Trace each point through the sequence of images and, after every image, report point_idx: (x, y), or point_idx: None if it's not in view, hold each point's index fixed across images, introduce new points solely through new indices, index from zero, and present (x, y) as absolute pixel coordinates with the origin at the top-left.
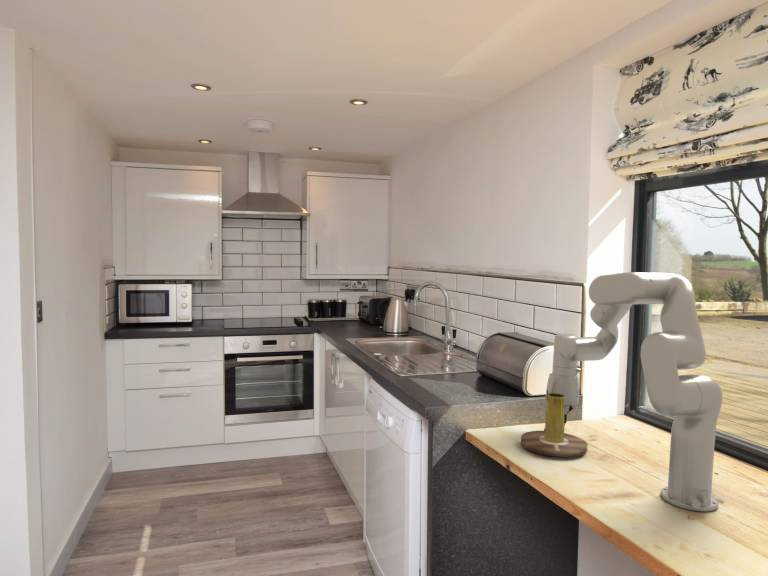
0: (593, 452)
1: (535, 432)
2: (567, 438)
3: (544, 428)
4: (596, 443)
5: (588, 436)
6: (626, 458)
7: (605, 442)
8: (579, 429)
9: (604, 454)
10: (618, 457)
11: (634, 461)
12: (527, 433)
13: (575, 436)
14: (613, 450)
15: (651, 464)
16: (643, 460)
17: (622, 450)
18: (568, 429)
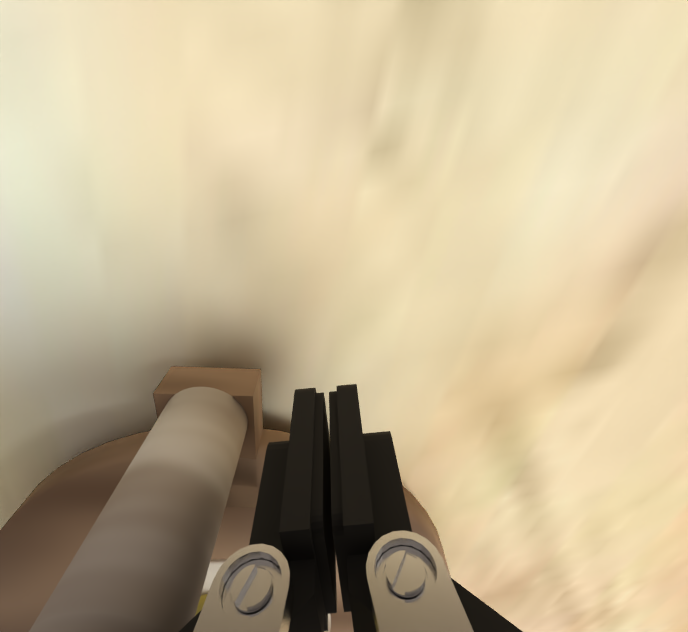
0: (471, 564)
1: (81, 515)
2: (338, 577)
3: (158, 397)
4: (577, 430)
5: (610, 276)
6: (610, 597)
7: (665, 398)
8: (653, 7)
9: (521, 576)
10: (575, 594)
11: (625, 617)
12: (18, 546)
13: (417, 533)
14: (616, 520)
15: (683, 628)
16: (683, 601)
17: (676, 511)
18: (501, 43)
